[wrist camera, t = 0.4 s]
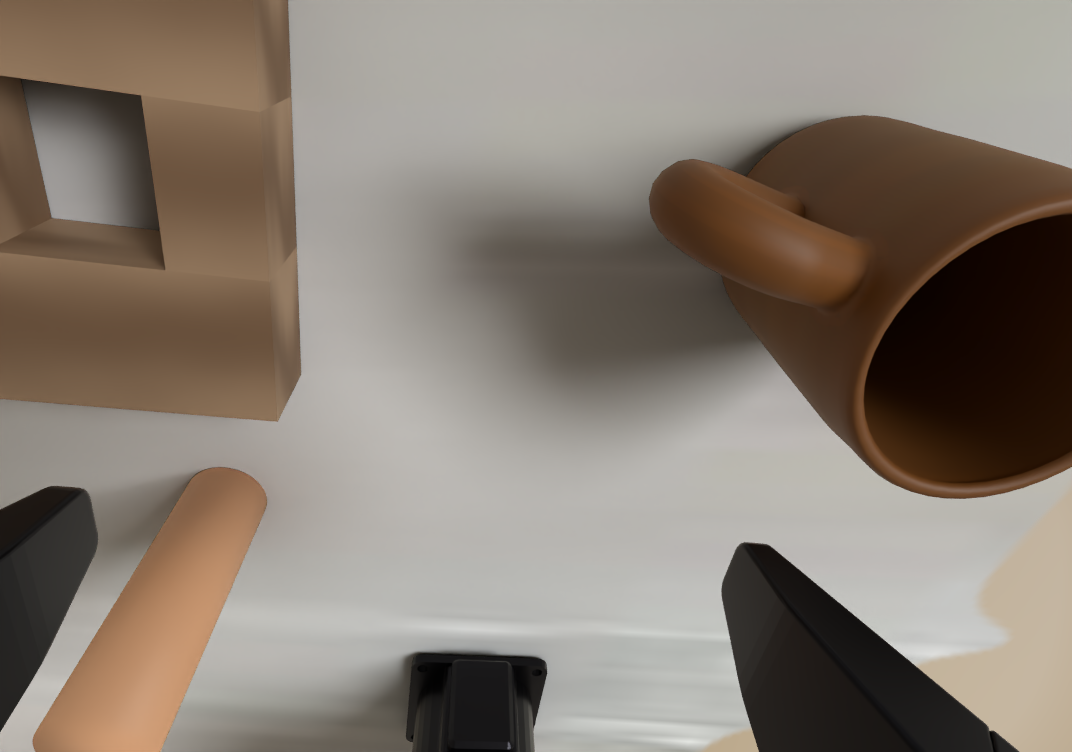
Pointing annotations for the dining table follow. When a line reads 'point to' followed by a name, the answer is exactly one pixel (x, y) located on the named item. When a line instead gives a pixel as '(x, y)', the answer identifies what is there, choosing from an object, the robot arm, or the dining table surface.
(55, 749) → the peg
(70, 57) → the hole block
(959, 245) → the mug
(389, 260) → the dining table surface
